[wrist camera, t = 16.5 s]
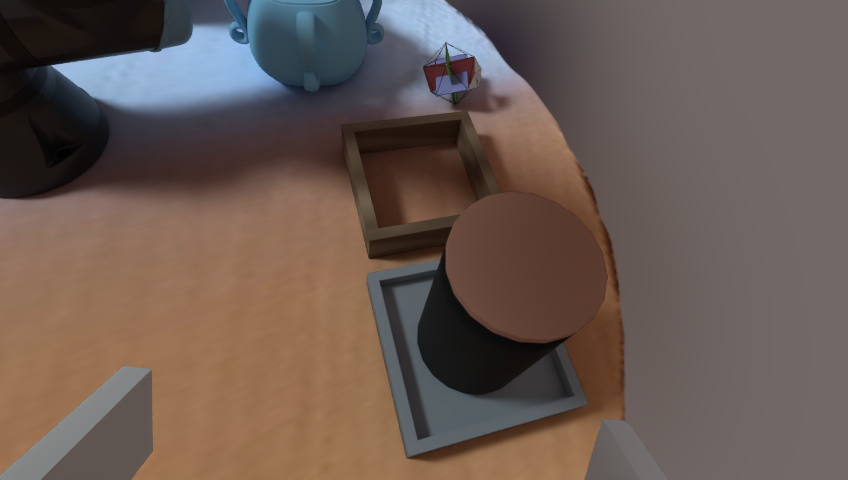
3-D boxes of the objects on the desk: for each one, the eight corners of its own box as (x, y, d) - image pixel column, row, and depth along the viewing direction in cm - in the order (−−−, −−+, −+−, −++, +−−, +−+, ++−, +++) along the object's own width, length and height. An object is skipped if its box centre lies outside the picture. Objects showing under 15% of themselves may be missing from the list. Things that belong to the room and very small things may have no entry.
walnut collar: (342, 148, 56) (341, 125, 52) (461, 133, 59) (467, 110, 56) (368, 258, 49) (369, 240, 46) (500, 234, 53) (510, 215, 49)
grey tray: (366, 283, 48) (367, 273, 45) (515, 254, 51) (522, 243, 49) (406, 458, 40) (409, 456, 38) (577, 408, 44) (588, 404, 42)
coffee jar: (525, 302, 48) (606, 208, 32) (518, 408, 42) (611, 357, 27) (425, 281, 47) (457, 176, 32) (405, 384, 42) (433, 320, 26)
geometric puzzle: (409, 95, 59) (456, 58, 54) (411, 58, 62) (454, 20, 57) (448, 123, 63) (494, 91, 58) (447, 87, 66) (490, 54, 61)
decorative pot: (224, 51, 61) (191, -54, 50) (316, 5, 68) (307, -97, 56) (304, 121, 57) (289, 24, 45) (394, 64, 64) (401, -33, 52)
